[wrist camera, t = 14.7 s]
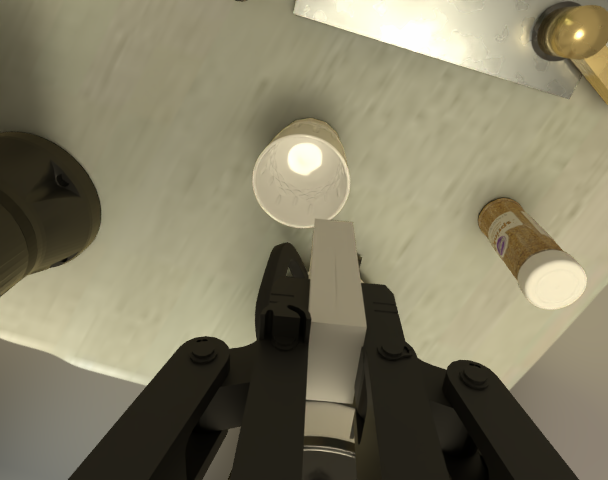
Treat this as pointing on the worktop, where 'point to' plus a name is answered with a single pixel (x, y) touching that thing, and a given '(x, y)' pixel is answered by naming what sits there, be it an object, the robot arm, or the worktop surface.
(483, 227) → the sprinkles bottle
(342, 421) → the coffee press
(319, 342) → the robot arm
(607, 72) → the lever
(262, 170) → the white cup
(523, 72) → the base
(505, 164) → the worktop surface
